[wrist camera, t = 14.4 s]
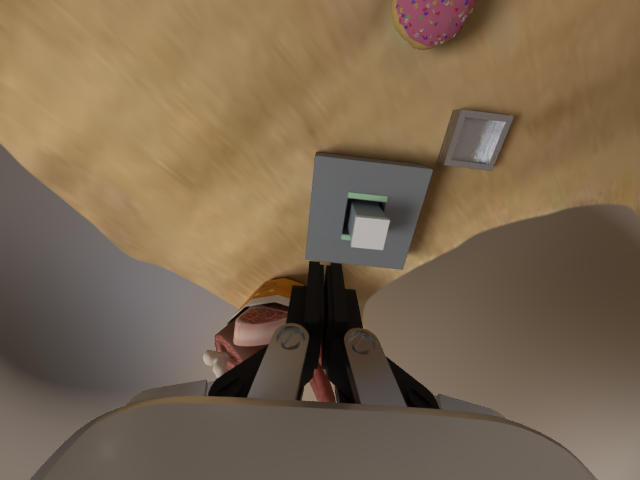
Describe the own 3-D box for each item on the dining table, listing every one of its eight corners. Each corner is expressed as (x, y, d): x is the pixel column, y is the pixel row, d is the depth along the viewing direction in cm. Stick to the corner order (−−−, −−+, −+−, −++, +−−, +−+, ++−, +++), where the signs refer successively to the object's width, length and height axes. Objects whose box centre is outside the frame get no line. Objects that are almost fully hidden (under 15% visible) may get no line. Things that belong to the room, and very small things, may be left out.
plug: (349, 196, 38) (356, 217, 29) (375, 198, 38) (390, 220, 30) (345, 220, 40) (351, 247, 31) (370, 223, 40) (382, 250, 31)
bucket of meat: (236, 322, 52) (188, 427, 34) (239, 257, 45) (182, 345, 27) (327, 336, 53) (328, 445, 35) (344, 275, 46) (356, 371, 28)
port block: (316, 151, 36) (314, 155, 32) (420, 164, 37) (433, 169, 32) (307, 245, 43) (305, 259, 39) (394, 254, 44) (403, 270, 39)
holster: (452, 110, 34) (461, 109, 31) (502, 116, 34) (514, 116, 32) (436, 162, 37) (443, 165, 34) (482, 168, 37) (491, 170, 35)
